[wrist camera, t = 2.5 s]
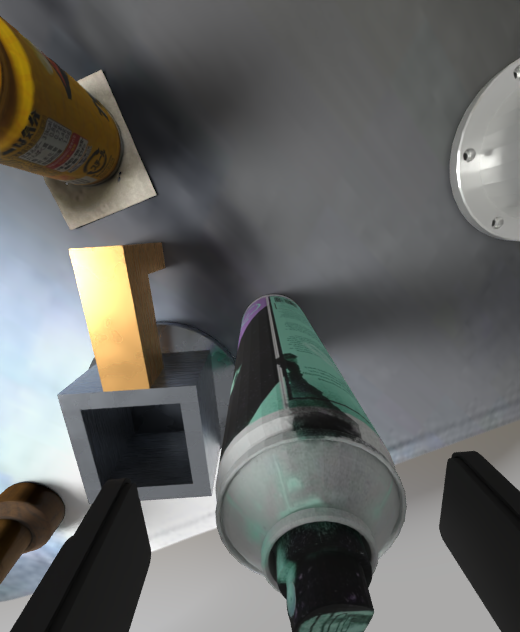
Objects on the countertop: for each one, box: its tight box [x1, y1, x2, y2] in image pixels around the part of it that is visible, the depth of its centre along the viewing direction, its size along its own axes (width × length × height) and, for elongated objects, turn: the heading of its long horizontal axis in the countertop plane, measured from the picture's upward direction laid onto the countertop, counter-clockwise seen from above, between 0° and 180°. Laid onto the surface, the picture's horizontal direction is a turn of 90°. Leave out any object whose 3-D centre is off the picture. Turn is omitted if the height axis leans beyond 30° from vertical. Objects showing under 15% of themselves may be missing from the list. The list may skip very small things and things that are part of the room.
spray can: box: [216, 294, 407, 632], centre depth 15 cm, size 6×6×20 cm
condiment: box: [0, 16, 156, 230], centre depth 15 cm, size 7×8×12 cm
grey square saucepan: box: [57, 243, 235, 504], centre depth 22 cm, size 14×20×7 cm
